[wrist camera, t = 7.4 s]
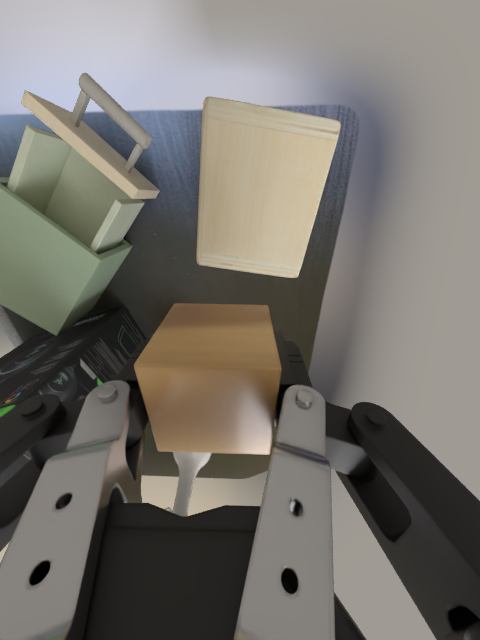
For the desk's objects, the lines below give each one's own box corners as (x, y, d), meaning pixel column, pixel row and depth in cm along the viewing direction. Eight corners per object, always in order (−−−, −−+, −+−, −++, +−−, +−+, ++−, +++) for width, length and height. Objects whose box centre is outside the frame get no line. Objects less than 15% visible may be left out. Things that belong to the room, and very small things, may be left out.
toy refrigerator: (272, 233, 32) (308, 282, 14) (222, 225, 32) (192, 264, 14) (286, 168, 28) (360, 117, 10) (229, 158, 28) (199, 85, 10)
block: (173, 302, 10) (131, 365, 6) (268, 304, 10) (282, 368, 6) (184, 373, 12) (157, 452, 9) (262, 375, 12) (270, 455, 9)
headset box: (125, 303, 38) (-46, 456, 16) (160, 355, 44) (69, 524, 21) (25, 337, 42) (-224, 498, 20) (68, 381, 48) (-90, 546, 25)
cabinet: (49, 180, 30) (-18, 175, 22) (133, 246, 34) (100, 260, 26) (17, 260, 35) (-45, 278, 28) (92, 309, 39) (56, 336, 32)
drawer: (92, 73, 24) (41, 32, 18) (179, 159, 27) (161, 149, 22) (37, 210, 31) (-13, 214, 25) (113, 265, 34) (85, 280, 28)
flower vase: (232, 453, 60) (225, 601, 38) (164, 449, 60) (118, 596, 38) (234, 422, 53) (227, 578, 32) (158, 418, 53) (98, 572, 31)
